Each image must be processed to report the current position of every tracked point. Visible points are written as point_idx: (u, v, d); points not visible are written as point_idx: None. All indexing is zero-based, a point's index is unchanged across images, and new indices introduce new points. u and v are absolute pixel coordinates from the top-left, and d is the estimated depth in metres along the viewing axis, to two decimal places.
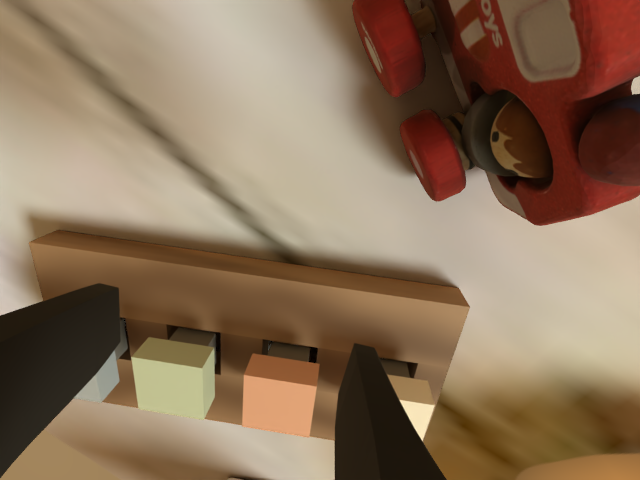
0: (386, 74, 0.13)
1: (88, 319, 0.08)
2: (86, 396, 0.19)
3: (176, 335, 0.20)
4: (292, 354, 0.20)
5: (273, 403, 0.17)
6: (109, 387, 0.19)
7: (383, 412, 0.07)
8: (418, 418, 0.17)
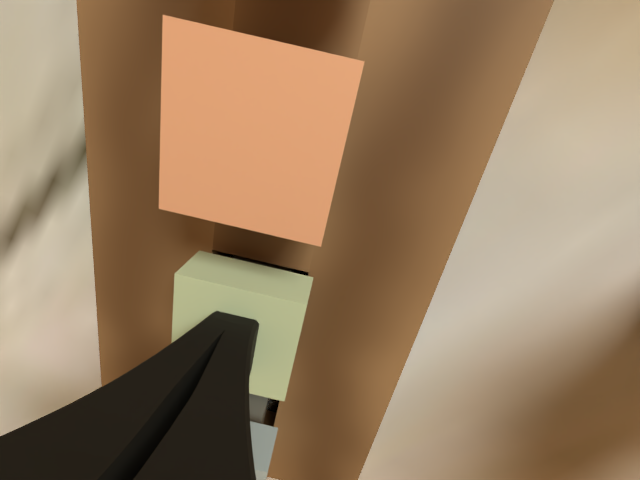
0: None
1: None
2: None
3: None
4: None
5: (238, 152, 0.07)
6: (263, 447, 0.11)
7: (219, 374, 0.07)
8: None
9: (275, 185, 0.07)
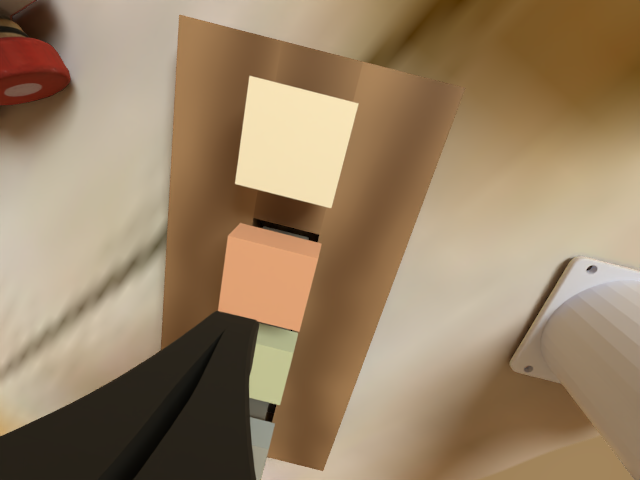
0: None
1: None
2: (260, 457, 0.18)
3: None
4: None
5: (259, 289, 0.14)
6: (266, 435, 0.19)
7: (219, 374, 0.07)
8: (276, 102, 0.11)
9: (277, 304, 0.14)
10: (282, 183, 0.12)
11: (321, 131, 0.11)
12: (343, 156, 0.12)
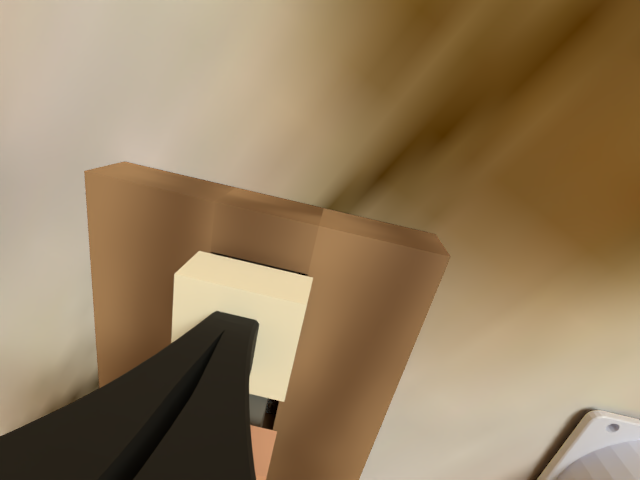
0: None
1: None
2: None
3: None
4: None
5: None
6: None
7: (219, 374, 0.07)
8: (208, 300, 0.09)
9: None
10: None
11: (264, 330, 0.10)
12: (293, 355, 0.10)
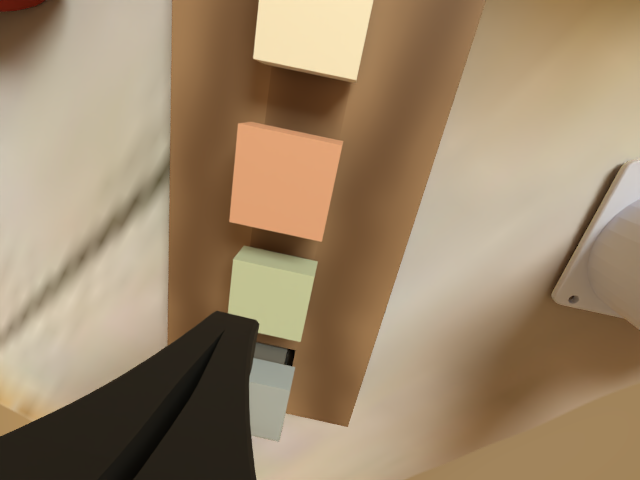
0: None
1: None
2: (281, 401, 0.17)
3: None
4: None
5: (275, 190, 0.12)
6: (286, 377, 0.17)
7: (219, 373, 0.07)
8: None
9: (295, 208, 0.13)
10: (303, 54, 0.12)
11: None
12: (368, 15, 0.11)
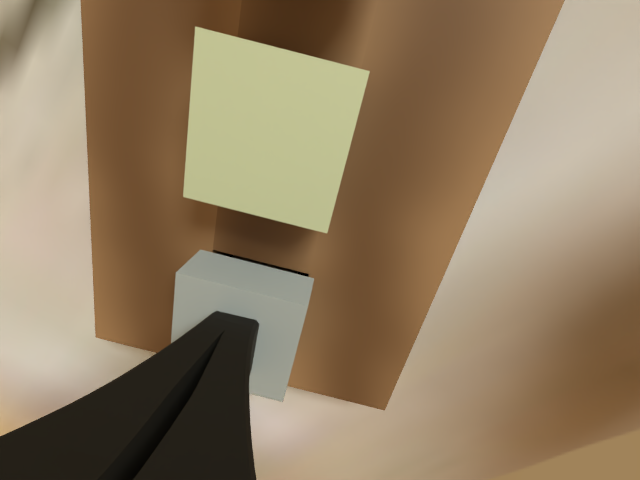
0: None
1: None
2: (290, 326, 0.09)
3: None
4: None
5: None
6: (300, 288, 0.10)
7: (219, 373, 0.07)
8: None
9: None
10: None
11: None
12: None
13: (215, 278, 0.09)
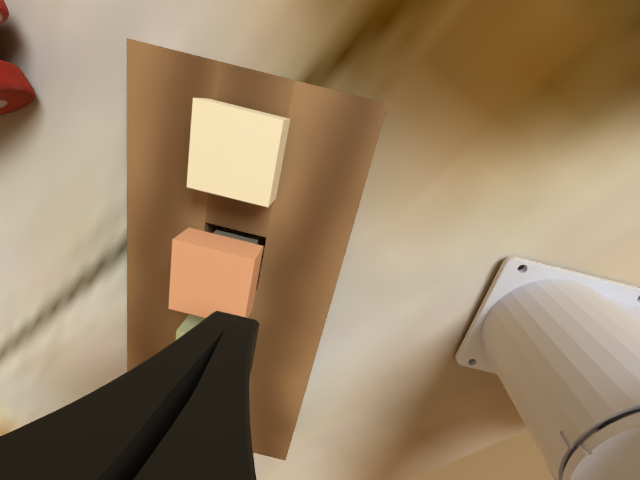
0: None
1: None
2: None
3: None
4: None
5: (204, 288, 0.15)
6: None
7: (219, 374, 0.07)
8: (216, 119, 0.14)
9: (221, 301, 0.16)
10: (226, 186, 0.15)
11: (254, 143, 0.14)
12: (274, 163, 0.14)
13: None
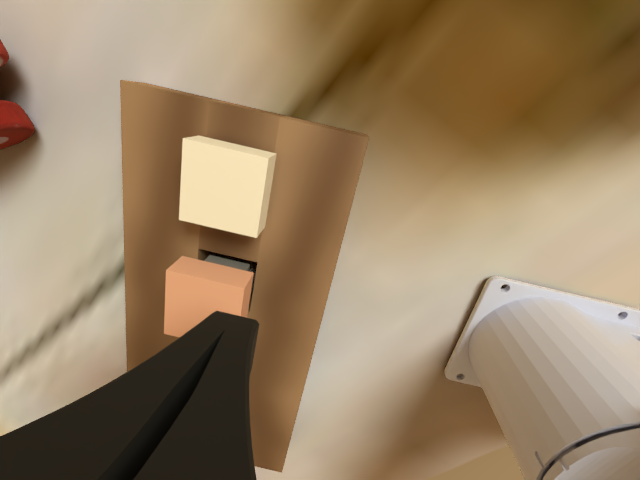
0: None
1: None
2: None
3: None
4: None
5: (197, 315, 0.16)
6: None
7: (219, 373, 0.07)
8: (205, 157, 0.14)
9: None
10: (216, 219, 0.15)
11: (242, 179, 0.14)
12: (261, 198, 0.15)
13: None
